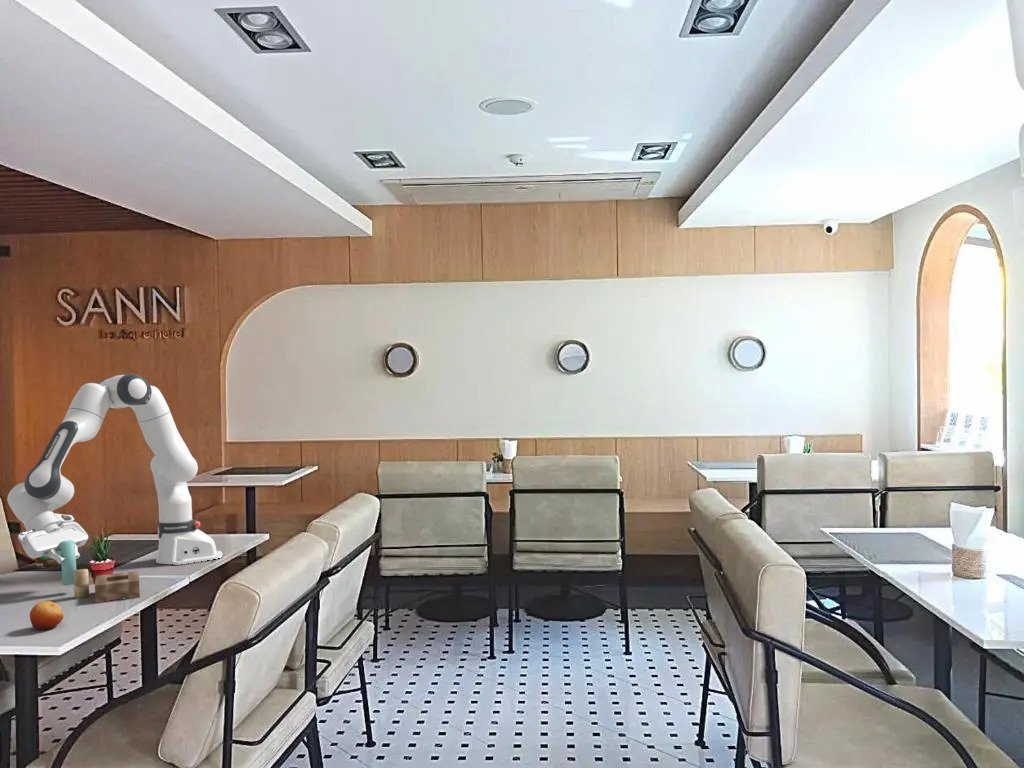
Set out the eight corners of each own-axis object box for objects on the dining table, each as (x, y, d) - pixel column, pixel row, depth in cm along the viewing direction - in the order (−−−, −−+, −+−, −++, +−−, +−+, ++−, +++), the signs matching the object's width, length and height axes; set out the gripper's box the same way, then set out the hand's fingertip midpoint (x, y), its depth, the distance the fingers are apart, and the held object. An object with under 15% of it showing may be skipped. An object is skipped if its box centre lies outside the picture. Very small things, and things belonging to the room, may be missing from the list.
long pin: (77, 581, 274) (75, 539, 273) (76, 584, 270) (74, 542, 270) (63, 583, 272) (60, 541, 272) (62, 586, 268) (59, 543, 268)
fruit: (30, 619, 237) (45, 593, 238) (57, 632, 238) (72, 607, 238) (16, 628, 229) (32, 601, 230) (44, 642, 230) (59, 615, 230)
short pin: (89, 594, 269) (88, 568, 268) (89, 597, 265) (87, 571, 265) (74, 596, 267) (73, 569, 267) (74, 599, 263) (73, 572, 263)
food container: (42, 570, 304) (41, 541, 304) (32, 568, 307) (31, 540, 307) (76, 563, 315) (74, 535, 314) (66, 561, 318) (65, 534, 318)
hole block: (139, 587, 276) (138, 571, 276) (139, 597, 263) (139, 580, 263) (96, 592, 271) (96, 575, 271) (95, 602, 258) (94, 585, 258)
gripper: (20, 526, 263) (46, 560, 260) (76, 514, 282) (101, 545, 279) (10, 541, 265) (35, 574, 262) (66, 527, 284) (91, 559, 281)
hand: (70, 559), depth 271 cm, fingers closed on long pin, 4 cm apart
